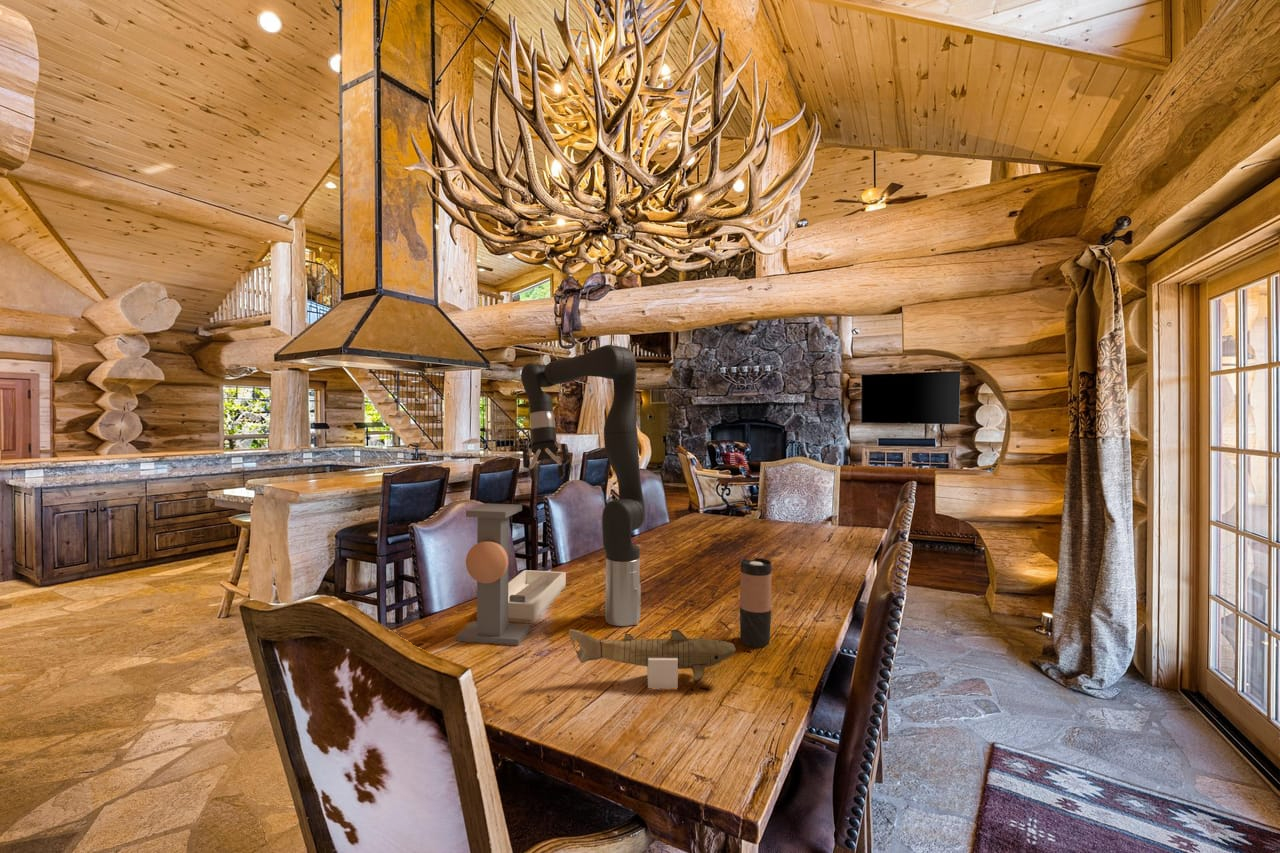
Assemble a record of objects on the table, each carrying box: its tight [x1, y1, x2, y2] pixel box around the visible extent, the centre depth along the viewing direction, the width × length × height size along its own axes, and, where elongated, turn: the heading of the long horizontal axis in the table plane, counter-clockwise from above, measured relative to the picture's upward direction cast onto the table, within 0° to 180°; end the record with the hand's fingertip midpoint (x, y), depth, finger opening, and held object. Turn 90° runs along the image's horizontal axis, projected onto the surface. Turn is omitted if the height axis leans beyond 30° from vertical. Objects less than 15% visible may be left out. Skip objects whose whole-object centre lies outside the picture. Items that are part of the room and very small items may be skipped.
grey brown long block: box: [509, 576, 549, 603], centre depth 158 cm, size 4×22×4 cm, turn 169°
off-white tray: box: [508, 569, 567, 624], centre depth 157 cm, size 14×30×5 cm, turn 172°
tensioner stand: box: [455, 502, 532, 647], centre depth 132 cm, size 16×11×32 cm
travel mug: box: [739, 557, 772, 648], centre depth 130 cm, size 8×8×20 cm
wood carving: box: [568, 629, 736, 690], centre depth 110 cm, size 9×35×11 cm, turn 91°
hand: (548, 479), depth 160 cm, fingers open, 8 cm apart
